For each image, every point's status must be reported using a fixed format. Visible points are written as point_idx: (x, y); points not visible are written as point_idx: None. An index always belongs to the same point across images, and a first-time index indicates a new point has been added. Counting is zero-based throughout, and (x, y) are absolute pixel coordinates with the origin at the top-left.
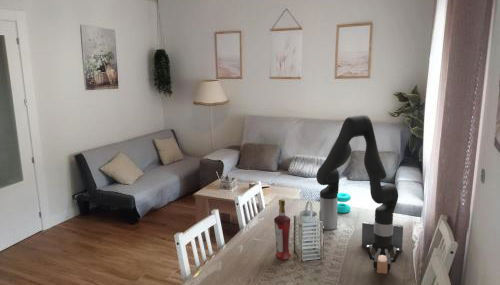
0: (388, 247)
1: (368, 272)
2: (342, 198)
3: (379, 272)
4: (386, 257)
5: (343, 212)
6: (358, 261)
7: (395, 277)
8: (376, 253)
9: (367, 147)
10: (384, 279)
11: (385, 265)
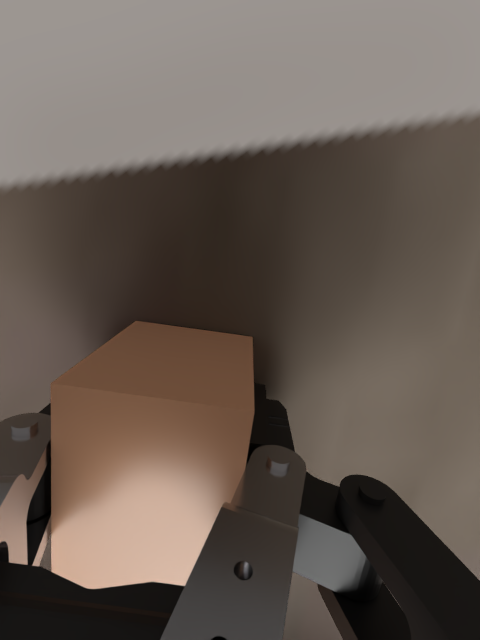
0: None
1: (355, 327)
2: None
3: (223, 333)
4: (6, 496)
5: None
6: None
7: (44, 252)
8: (282, 633)
9: None
10: (180, 184)
11: (115, 363)
